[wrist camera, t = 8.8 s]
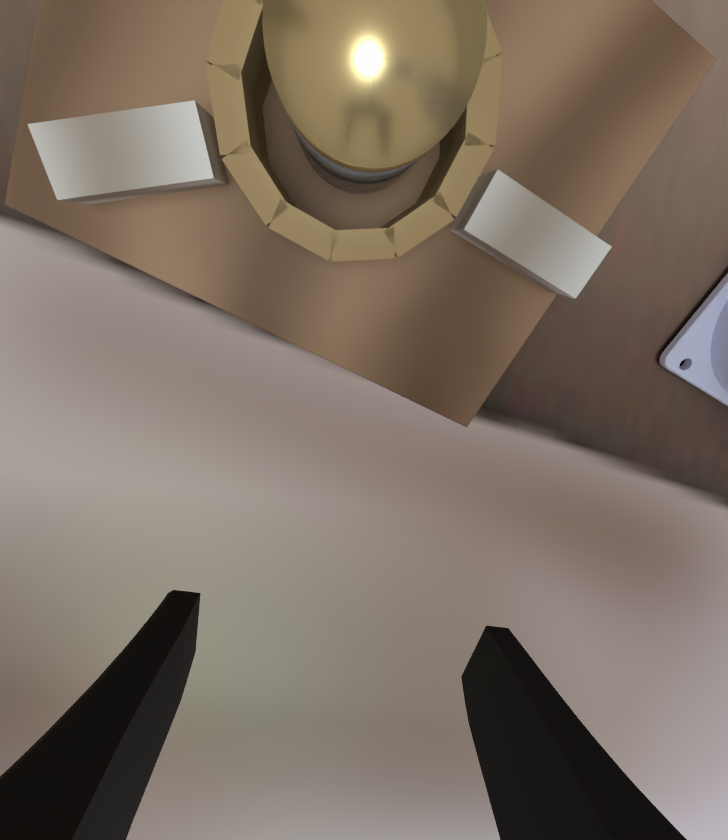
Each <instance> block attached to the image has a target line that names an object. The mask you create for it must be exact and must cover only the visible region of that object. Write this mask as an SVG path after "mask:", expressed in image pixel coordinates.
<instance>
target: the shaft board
mask: <svg viewBox="0 0 728 840" xmlns="http://www.w3.org/2000/svg"><path fill="white" fill-rule="evenodd" d="M486 5H487V35H486V46H485V52H484V58H483V63H482V67H481V70H480V74H479V78H478V81H477V83H476V86H475V89H474V91H473V94H472V96H471V98H470V100H469V102H468V104H467V106H466V108H465V110H464V111H463V113H462V114H461V116H460V117H459V119H458V120H457V122H456V123H455V125H454V126H453V127H452V128H451V129H450V131H449V132H448V133H447V134H446V135H445V136H444V137H443V138H442V139H441V140H440V141H439V142H438V143H437V144H436V145H434V146H433V147H432V148H431V149H430V150H429V151H428V152H427V153H426V154H425V155H423V156H422V157H421V158H420V159H419V160H418V161H417V162H416V163H415V164H414V165H412V166H411V167H410V168H409V169H408V170H407V171H406V172H405V173H404V174H403V175H401V176H400V177H399V178H398V179H397V180H396V181H395V182H393V183H392V184H390V185H389V186H387V187H385V188H383V189H381V190H378V191H375V192H371V193H361V194H357V193H350V192H346V191H343V190H340V189H338V188H336V187H334V186H332V185H331V184H329V183H327V182H326V181H325V180H324V179H323V178H321V177H320V176H319V175H318V174H317V172H316V171H315V170H314V169H313V168H312V166H311V165H310V164H309V162H308V160H307V158H306V157H305V155H304V152H303V150H302V148H301V145H300V143H299V141H298V139H297V136H296V134H295V132H294V129H293V127H292V125H291V122H290V120H289V118H288V116H287V113H286V111H285V109H284V106H283V104H282V102H281V99H280V97H279V95H278V93H277V90H276V88H275V86H274V83H273V80H272V77H271V73H270V70H269V67H268V63H267V58H266V53H265V48H264V38H263V28H262V27H263V0H38V3H37V9H36V15H35V21H34V28H33V34H32V40H31V46H30V52H29V58H28V65H27V71H26V77H25V83H24V89H23V95H22V102H21V108H20V114H19V120H18V126H17V132H16V139H15V145H14V151H13V157H12V163H11V169H10V176H9V182H8V188H7V194H6V200H5V205H7V206H9V207H12V208H14V209H16V210H18V211H20V212H22V213H24V214H26V215H28V216H30V217H32V218H34V219H36V220H38V221H41V222H43V223H45V224H47V225H49V226H51V227H53V228H55V229H57V230H59V231H61V232H63V233H65V234H67V235H70V236H72V237H74V238H76V239H78V240H80V241H82V242H84V243H86V244H88V245H90V246H92V247H94V248H96V249H99V250H101V251H103V252H105V253H107V254H109V255H111V256H113V257H115V258H117V259H119V260H121V261H123V262H125V263H128V264H130V265H132V266H134V267H136V268H138V269H140V270H142V271H144V272H146V273H148V274H150V275H152V276H154V277H157V278H159V279H161V280H163V281H165V282H167V283H169V284H171V285H173V286H175V287H177V288H179V289H181V290H183V291H186V292H188V293H190V294H192V295H194V296H196V297H198V298H200V299H202V300H204V301H206V302H208V303H210V304H212V305H215V306H217V307H219V308H221V309H223V310H225V311H227V312H229V313H231V314H233V315H235V316H237V317H239V318H241V319H244V320H246V321H248V322H250V323H252V324H254V325H256V326H258V327H260V328H262V329H264V330H266V331H268V332H270V333H272V334H275V335H277V336H279V337H281V338H283V339H285V340H287V341H289V342H291V343H293V344H295V345H297V346H299V347H301V348H304V349H306V350H308V351H310V352H312V353H314V354H316V355H318V356H320V357H322V358H324V359H326V360H328V361H330V362H333V363H335V364H337V365H339V366H341V367H343V368H345V369H347V370H349V371H351V372H353V373H355V374H357V375H359V376H362V377H364V378H366V379H368V380H370V381H372V382H374V383H376V384H378V385H380V386H382V387H384V388H386V389H389V390H391V391H393V392H395V393H397V394H399V395H401V396H403V397H405V398H407V399H409V400H411V401H413V402H415V403H417V404H420V405H422V406H424V407H426V408H428V409H430V410H432V411H434V412H436V413H438V414H440V415H443V416H444V417H446V418H449V419H451V420H453V421H455V422H457V423H459V424H461V425H463V426H465V427H467V426H468V425H469V423H470V422H471V420H472V419H473V417H474V416H475V414H476V413H477V411H478V410H479V408H480V407H481V405H482V404H483V403H484V401H485V400H486V398H487V397H488V395H489V394H490V392H491V391H492V389H493V388H494V386H495V385H496V383H497V382H498V380H499V379H500V378H501V376H502V375H503V373H504V372H505V370H506V369H507V367H508V366H509V364H510V363H511V361H512V360H513V358H514V357H515V355H516V354H517V353H518V351H519V350H520V348H521V347H522V345H523V344H524V342H525V341H526V339H527V338H528V336H529V335H530V333H531V332H532V331H533V329H534V328H535V326H536V325H537V323H538V322H539V320H540V319H541V317H542V316H543V314H544V313H545V311H546V310H547V308H548V307H549V306H550V304H551V303H552V301H553V300H554V298H555V297H556V295H557V294H560V295H564V296H567V297H571V298H574V299H576V297H577V296H578V294H579V293H580V292H581V290H582V289H583V287H584V286H585V284H586V283H587V282H588V280H589V279H590V277H591V276H592V274H593V273H594V272H595V270H596V269H597V267H598V266H599V264H600V263H601V262H602V260H603V259H604V257H605V256H606V254H607V253H608V252H609V250H610V249H611V246H610V245H608V244H607V243H605V242H604V241H603V240H601V239H600V238H598V237H597V235H598V234H599V232H600V231H601V229H602V228H603V226H604V225H605V223H606V222H607V220H608V219H609V217H610V216H611V214H612V213H613V211H614V210H615V209H616V207H617V206H618V204H619V203H620V201H621V200H622V198H623V197H624V195H625V194H626V192H627V191H628V189H629V188H630V187H631V185H632V184H633V182H634V181H635V179H636V178H637V176H638V175H639V173H640V172H641V170H642V169H643V167H644V166H645V164H646V163H647V162H648V160H649V159H650V157H651V156H652V154H653V153H654V151H655V150H656V148H657V147H658V145H659V144H660V142H661V141H662V139H663V138H664V137H665V135H666V134H667V132H668V131H669V129H670V128H671V126H672V125H673V123H674V122H675V120H676V119H677V117H678V116H679V114H680V113H681V112H682V110H683V109H684V107H685V106H686V104H687V103H688V101H689V100H690V98H691V97H692V95H693V94H694V92H695V91H696V90H697V88H698V87H699V85H700V84H701V82H702V81H703V79H704V78H705V76H706V75H707V73H708V72H709V70H710V69H711V67H712V66H713V65H714V63H715V62H716V60H717V59H716V58H715V57H713V56H712V55H711V54H710V53H709V52H708V51H707V50H706V49H705V48H703V47H702V46H701V45H700V44H699V43H698V42H697V41H696V40H695V39H694V38H692V37H691V36H690V35H689V34H688V33H687V32H686V31H685V30H684V29H682V28H681V27H680V26H679V25H678V24H677V23H676V22H675V21H674V20H673V19H671V18H670V17H669V16H668V15H667V14H666V13H665V12H664V11H663V10H661V9H660V8H659V7H658V6H657V5H656V4H655V3H654V2H653V1H651V0H486Z"/></svg>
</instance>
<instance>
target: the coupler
mask: <svg viewBox="0 0 728 840" xmlns="http://www.w3.org/2000/svg"><path fill="white" fill-rule="evenodd" d="M262 28H263V38H264V48H265V53H266V58H267V63H268V67H269V70H270V73H271V77H272V80H273V83H274V86H275V88H276V90H277V93H278V95H279V97H280V99H281V102H282V104H283V106H284V109H285V111H286V113H287V116H288V118H289V120H290V122H291V125H292V127H293V129H294V132H295V134H296V136H297V139H298V141H299V143H300V145H301V148H302V150H303V152H304V155H305V157H306V158H307V160H308V162H309V164H310V165H311V166H312V168H313V169H314V170H315V171H316V172H317V174H318V175H319V176H320V177H321V178H323V179H324V180H325V181H326V182H327V183H329V184H331V185H332V186H334V187H336V188H338V189H340V190H343V191H346V192H350V193H357V194H361V193H371V192H375V191H378V190H381V189H383V188H385V187H387V186H389V185H390V184H392V183H393V182H395V181H396V180H397V179H398V178H399V177H400V176H401V175H403V174H404V173H405V172H406V171H407V170H408V169H409V168H410V167H411V166H412V165H414V164H415V163H416V162H417V161H418V160H419V159H420V158H421V157H422V156H423V155H425V154H426V153H427V152H428V151H429V150H430V149H431V148H432V147H433V146H434V145H436V144H437V143H438V142H439V141H440V140H441V139H442V138H443V137H444V136H445V135H446V134H447V133H448V132H449V131H450V129H451V128H452V127H453V126H454V125H455V123H456V122H457V120H458V119H459V117H460V116H461V114H462V113H463V111H464V110H465V108H466V106H467V104H468V102H469V100H470V98H471V96H472V94H473V91H474V89H475V86H476V83H477V81H478V78H479V74H480V70H481V67H482V63H483V58H484V52H485V46H486V35H487V5H486V0H263V27H262Z"/></svg>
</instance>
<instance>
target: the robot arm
mask: <svg viewBox="0 0 728 840" xmlns="http://www.w3.org/2000/svg"><path fill="white" fill-rule="evenodd" d="M684 359H685V362H684V364H683V365H682V366H680V363H681V361H683V360H684ZM660 364H661V365H662V366H663V367H664V368H666V369H667V370H669V371H670V372H672V373H674V374H675V375H677V376H679V377H680V378H682V379H684V380H685V381H687V382H688V383H690V384H692V385H693V386H695V387H697V388H698V389H700V390H702V391H703V392H705V393H706V394H708V395H710V396H711V397H713V398H715V399H716V400H718V401H720V402H721V403H723V404H724V405H726V406H728V273H727V274H726V276H725V277H724V278H723V279H722V280H721V282H720V283H719V284H718V285H717V287H716V288H715V289H714V290H713V291H712V293H711V294H710V295H709V296H708V298H707V299H706V300H705V301H704V302H703V304H702V305H701V306H700V307H699V308H698V310H697V311H696V312H695V313H694V315H693V316H692V317H691V318H690V319H689V321H688V322H687V323H686V324H685V326H684V327H683V328H682V329H681V330H680V332H679V333H678V334H677V335H676V337H675V338H674V339H673V340H672V341H671V343H670V344H669V345H668V346H667V347H666V349H665V350H664V351H663V353H662V354H661V356H660ZM199 603H200V593H195V592H186V591H177V590H173V591H171V592H169V593H168V594H167V596H166V597H165V599H164V600H163V601H162V602H161V604H160V605H159V607H158V608H157V609H156V610H155V612H154V613H153V614H152V616H151V617H150V618H149V619H148V621H147V622H146V623H145V624H144V626H143V627H142V628H141V629H140V631H139V632H138V633H137V634H136V636H135V637H134V638H133V639H132V640H131V641H130V643H129V644H128V645H127V646H126V647H125V648H124V650H123V651H122V652H121V653H120V654H119V655H118V656H117V657H116V659H115V660H114V661H113V662H112V663H111V664H110V665H109V666H108V668H107V669H106V670H105V671H104V672H103V673H102V674H101V676H100V677H99V678H98V679H97V680H96V681H95V682H94V683H93V684H92V685H91V687H90V688H89V689H88V690H87V691H86V692H85V693H84V694H83V695H82V696H81V697H80V698H79V699H78V700H77V701H76V702H75V703H74V704H73V705H72V706H71V707H70V708H69V709H68V710H67V711H66V713H65V714H64V715H63V716H62V717H61V718H60V719H59V720H58V721H57V722H56V723H55V724H54V725H53V726H52V727H51V728H50V729H49V730H48V731H47V732H46V733H45V734H44V735H43V736H42V737H41V738H40V739H39V740H38V741H37V742H36V743H35V744H34V745H33V746H32V747H31V748H30V749H29V750H28V751H27V752H26V753H25V754H24V755H23V756H22V757H21V758H19V760H17V761H16V762H15V763H14V764H13V765H12V766H11V767H10V768H9V769H8V770H7V771H6V772H5V773H4V774H3V775H1V776H0V840H126V838H127V835H128V832H129V829H130V827H131V824H132V822H133V819H134V816H135V814H136V811H137V809H138V807H139V804H140V802H141V799H142V796H143V794H144V792H145V789H146V787H147V784H148V782H149V779H150V777H151V774H152V771H153V769H154V767H155V764H156V761H157V759H158V756H159V754H160V751H161V749H162V747H163V744H164V741H165V739H166V737H167V734H168V731H169V729H170V726H171V724H172V721H173V719H174V716H175V714H176V711H177V709H178V706H179V704H180V701H181V698H182V695H183V691H184V688H185V685H186V682H187V678H188V675H189V672H190V668H191V665H192V661H193V658H194V655H195V650H196V637H197V627H198V614H199ZM462 684H463V691H464V698H465V704H466V710H467V715H468V721H469V725H470V729H471V733H472V737H473V740H474V744H475V748H476V752H477V755H478V759H479V763H480V767H481V770H482V774H483V777H484V781H485V785H486V788H487V792H488V796H489V799H490V803H491V807H492V810H493V814H494V817H495V820H496V825H497V828H498V832H499V836H500V839H501V840H686V839H685V838H684V837H683V836H682V835H681V834H680V832H679V831H678V830H677V829H675V827H674V826H673V825H672V824H671V823H670V822H669V821H668V820H667V819H666V818H665V817H664V816H663V815H662V814H661V812H660V811H658V809H657V808H656V807H655V806H654V805H653V804H652V803H651V802H650V801H649V800H648V799H647V798H646V797H645V795H644V794H643V793H642V792H641V791H640V790H639V789H638V788H637V787H636V786H635V785H634V783H633V782H632V781H631V780H630V779H629V778H628V777H627V776H626V774H625V773H624V772H623V771H622V770H621V769H620V768H619V766H618V765H617V764H616V763H615V762H614V761H613V759H612V758H611V757H610V756H609V755H608V754H607V752H606V751H605V750H604V749H603V748H602V747H601V745H600V744H599V743H598V742H597V741H596V740H595V738H594V737H593V736H592V735H591V733H590V732H589V731H588V730H587V729H586V727H585V726H584V725H583V724H582V723H581V721H580V720H579V719H578V718H577V716H576V715H575V714H574V713H573V711H572V710H571V709H570V707H569V706H568V705H567V704H566V703H565V701H564V700H563V699H562V697H561V696H560V695H559V694H558V692H557V691H556V690H555V688H554V687H553V686H552V685H551V683H550V682H549V681H548V679H547V678H546V677H545V675H544V674H543V673H542V672H541V670H540V669H539V668H538V666H537V665H536V664H535V662H534V661H533V660H532V658H531V657H530V656H529V654H528V653H527V652H526V651H525V649H524V648H523V647H522V645H521V644H520V643H519V642H518V640H517V639H516V638H515V636H514V635H513V634H512V633H511V631H510V630H509V629H508V628H501V627H492V626H486V627H485V629H484V632H483V634H482V636H481V638H480V640H479V642H478V644H477V646H476V648H475V650H474V652H473V654H472V656H471V658H470V660H469V662H468V664H467V666H466V668H465V670H464V673H463V675H462Z"/></svg>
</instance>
